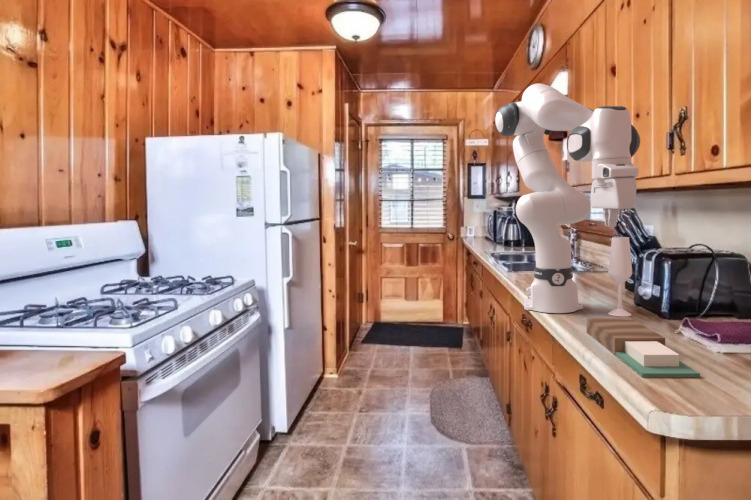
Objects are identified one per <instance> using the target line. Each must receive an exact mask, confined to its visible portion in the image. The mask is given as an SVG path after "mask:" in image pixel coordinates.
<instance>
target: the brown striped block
mask: <svg viewBox="0 0 751 500" xmlns="http://www.w3.org/2000/svg"><path fill="white" fill-rule="evenodd" d="M586 333H587V334H588V335H589V336H591V337H592V338H593V339H595V341H597V342H598V343H600V345H602V346H603V347H605V349H607V350H608V351H610V353H611V354H613V355H614V356H616V352H625V341H657V342H659V343H661V344H662V345H664V346H666V337H665V336H663V335H661V334H659V333H657V332H656V331H654V330H653V329H650V328H649V327H647V326H645V325H643V324H642V323H641V322H638V321H636V320H634V319H633V318H631V317H630V316H616V317H586Z"/></svg>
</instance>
